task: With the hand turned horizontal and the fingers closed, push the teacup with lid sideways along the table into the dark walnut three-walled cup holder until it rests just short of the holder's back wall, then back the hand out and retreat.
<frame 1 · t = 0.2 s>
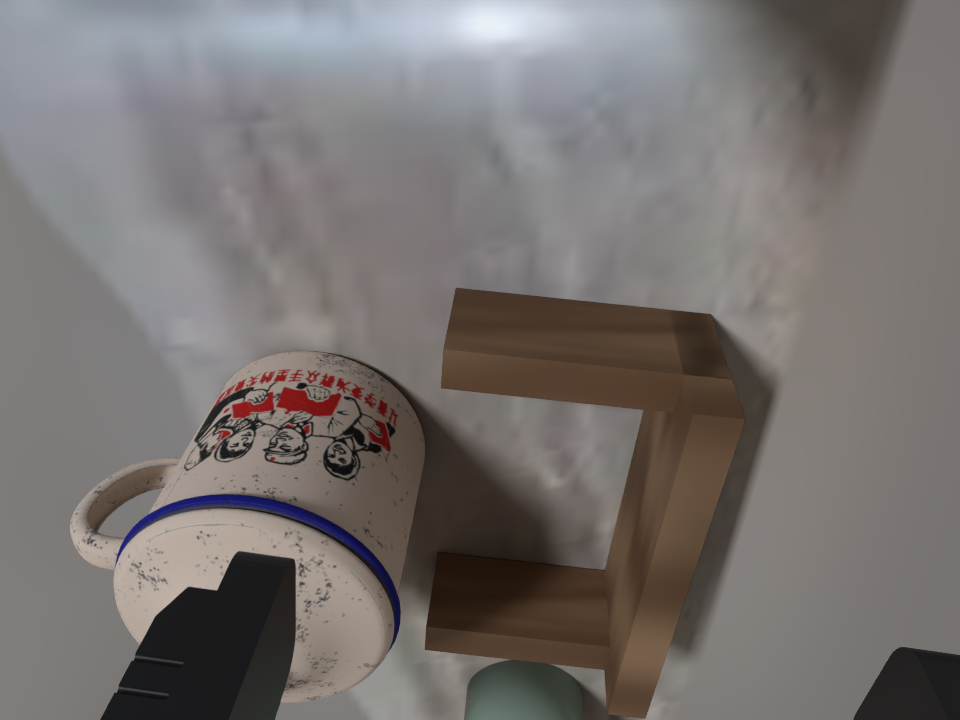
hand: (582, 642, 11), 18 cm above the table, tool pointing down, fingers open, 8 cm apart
teacup with lid: (287, 429, 33), on the table
walnut cup holder: (518, 458, 32), on the table
green ceramic sugar pot: (524, 695, 41), on the table
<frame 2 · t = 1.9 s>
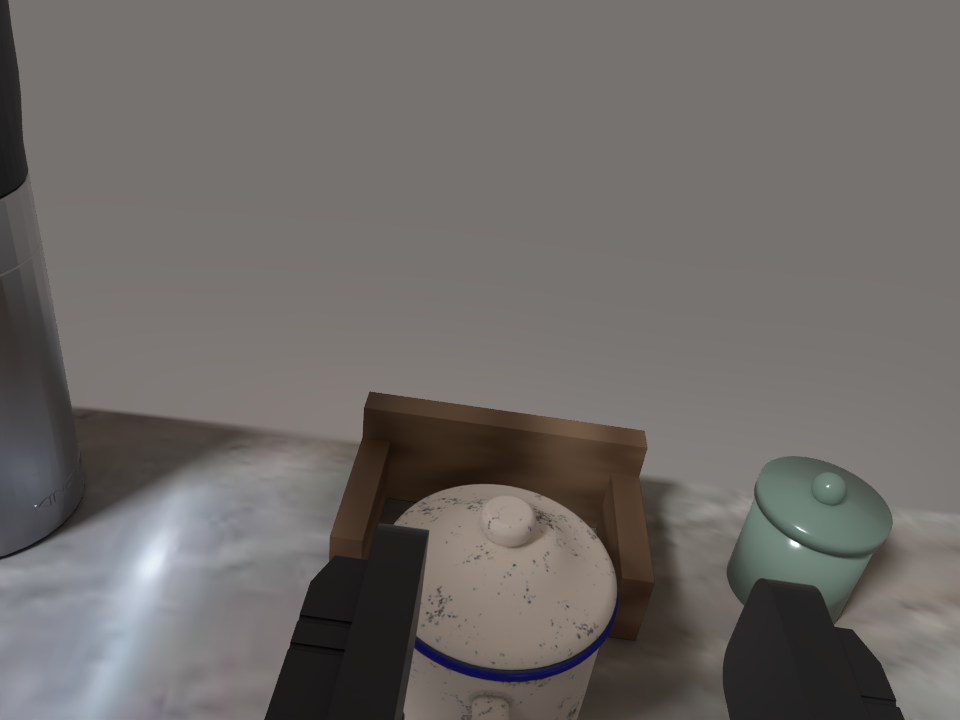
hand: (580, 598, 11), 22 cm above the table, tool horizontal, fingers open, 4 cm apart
walnut cup holder: (485, 572, 41), on the table
green ceramic sugar pot: (782, 587, 43), on the table
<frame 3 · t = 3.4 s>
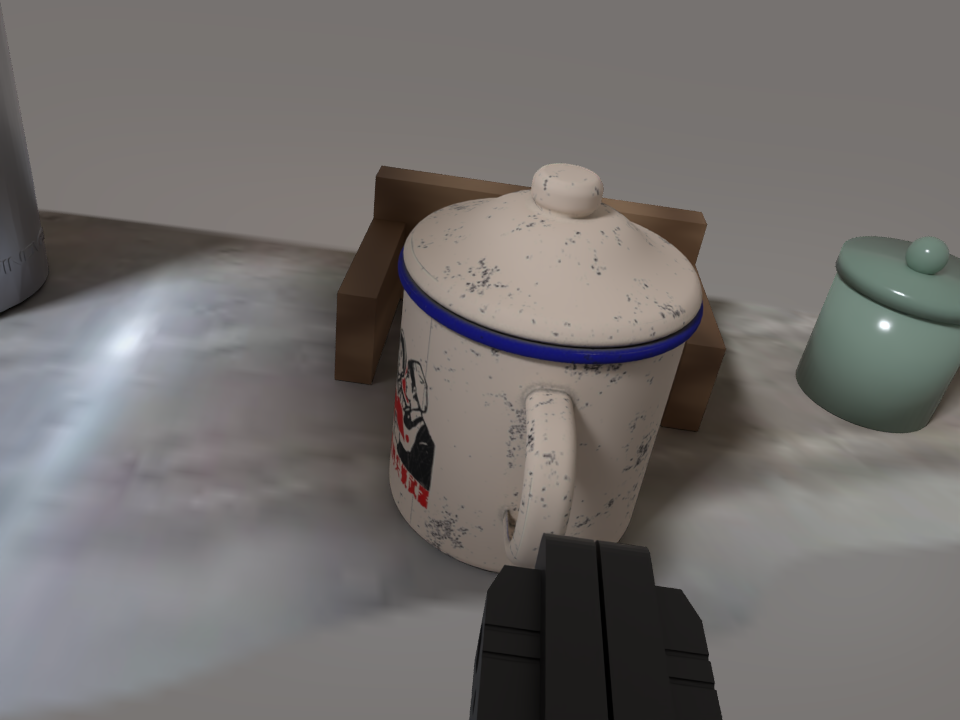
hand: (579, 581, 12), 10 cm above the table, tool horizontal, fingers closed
teacup with lid: (509, 521, 27), on the table
walnut cup holder: (518, 365, 35), on the table
green ceramic sugar pot: (861, 392, 37), on the table
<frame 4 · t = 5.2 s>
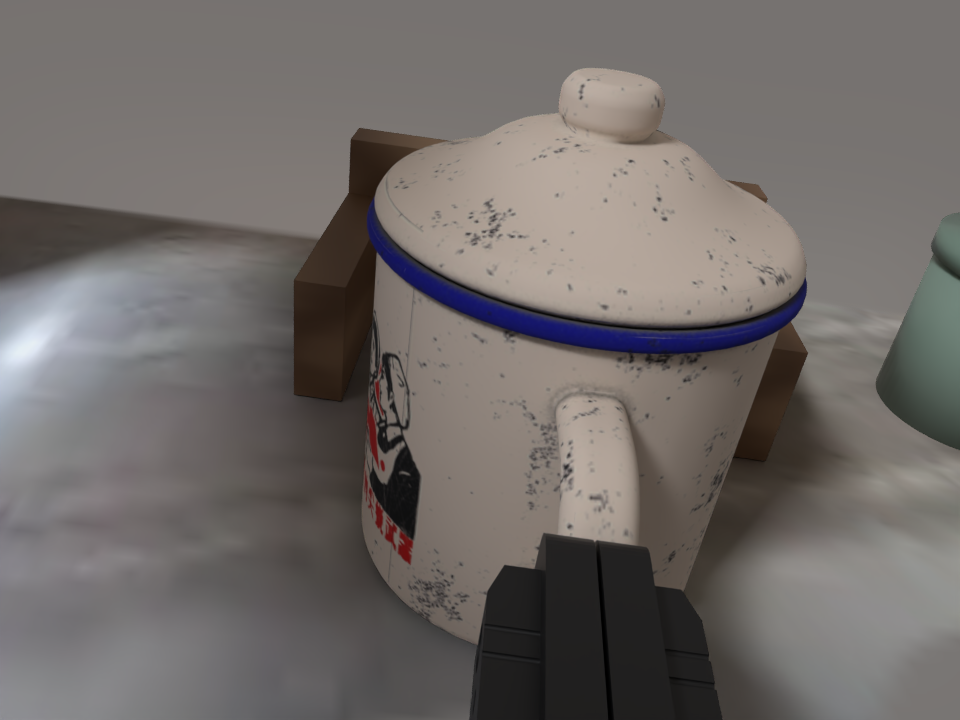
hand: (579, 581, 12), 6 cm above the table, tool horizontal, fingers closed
teacup with lid: (524, 575, 20), on the table, touching gripper
walnut cup holder: (531, 376, 28), on the table
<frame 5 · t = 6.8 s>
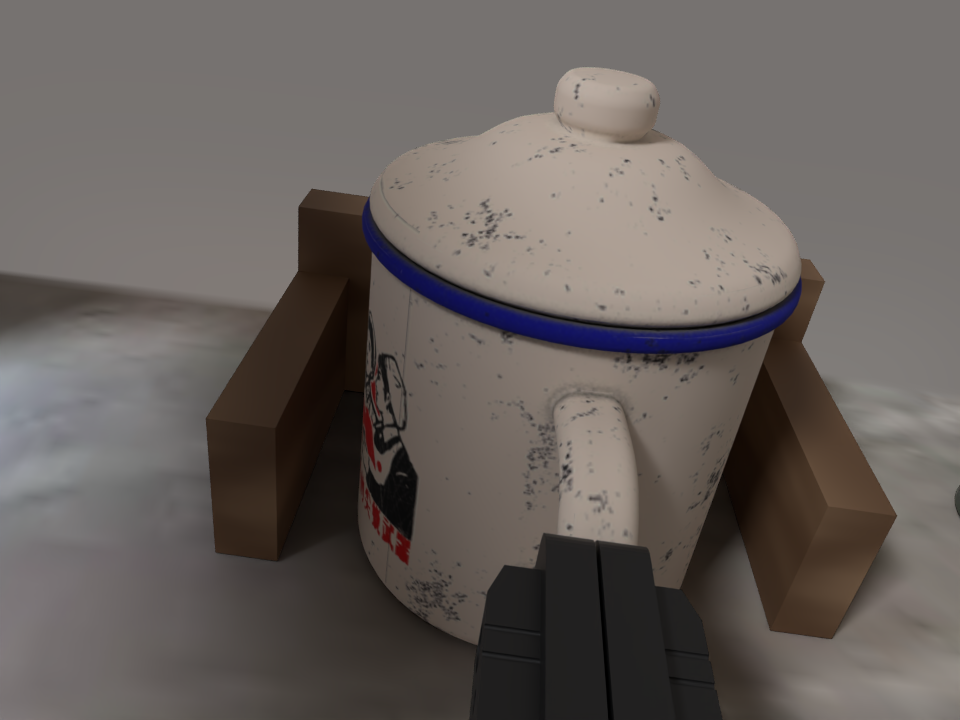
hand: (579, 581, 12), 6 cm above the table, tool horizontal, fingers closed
teacup with lid: (521, 574, 20), on the table, touching gripper
walnut cup holder: (526, 511, 22), on the table
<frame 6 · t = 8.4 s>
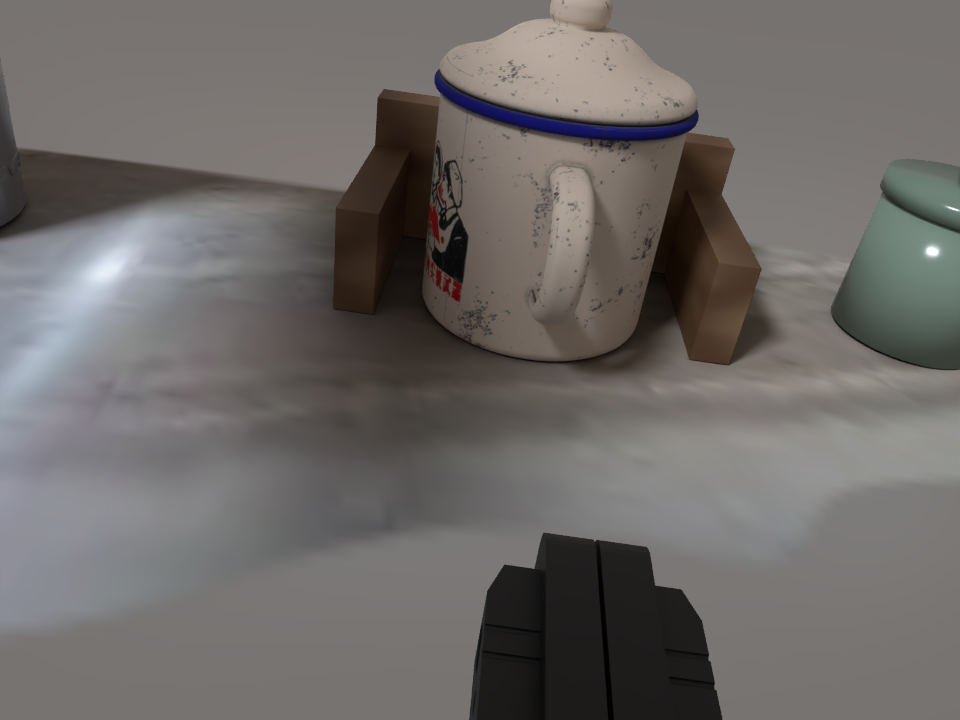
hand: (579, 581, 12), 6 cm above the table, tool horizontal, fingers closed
teacup with lid: (529, 330, 31), on the table
walnut cup holder: (532, 300, 32), on the table
green ceramic sugar pot: (902, 330, 34), on the table
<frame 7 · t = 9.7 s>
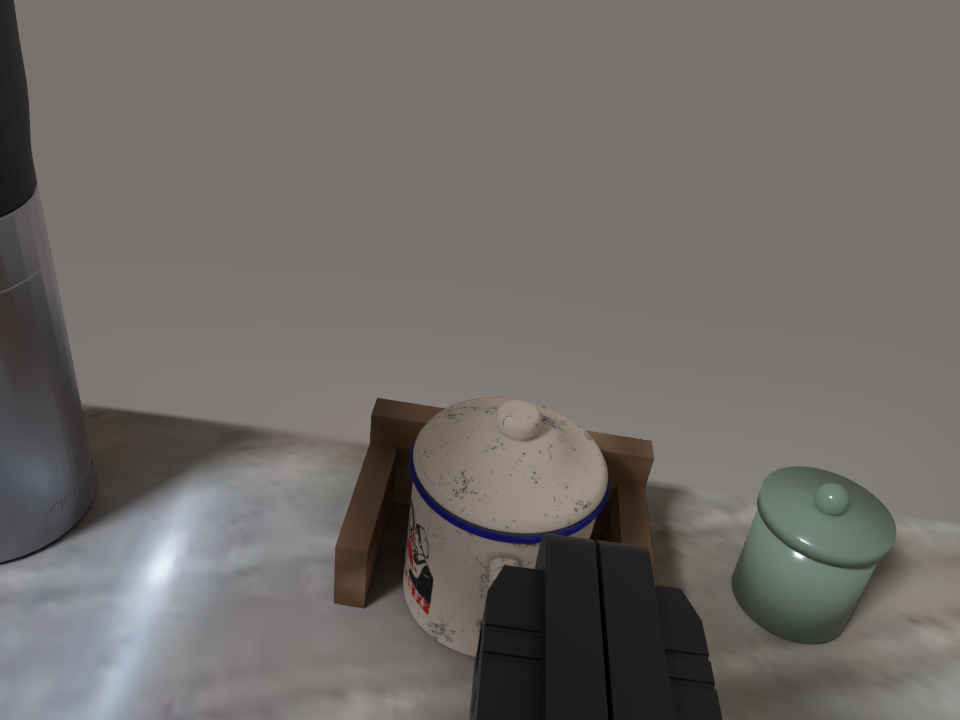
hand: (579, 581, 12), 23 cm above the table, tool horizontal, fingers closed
teacup with lid: (485, 615, 40), on the table
walnut cup holder: (490, 579, 41), on the table
green ceramic sugar pot: (788, 597, 43), on the table
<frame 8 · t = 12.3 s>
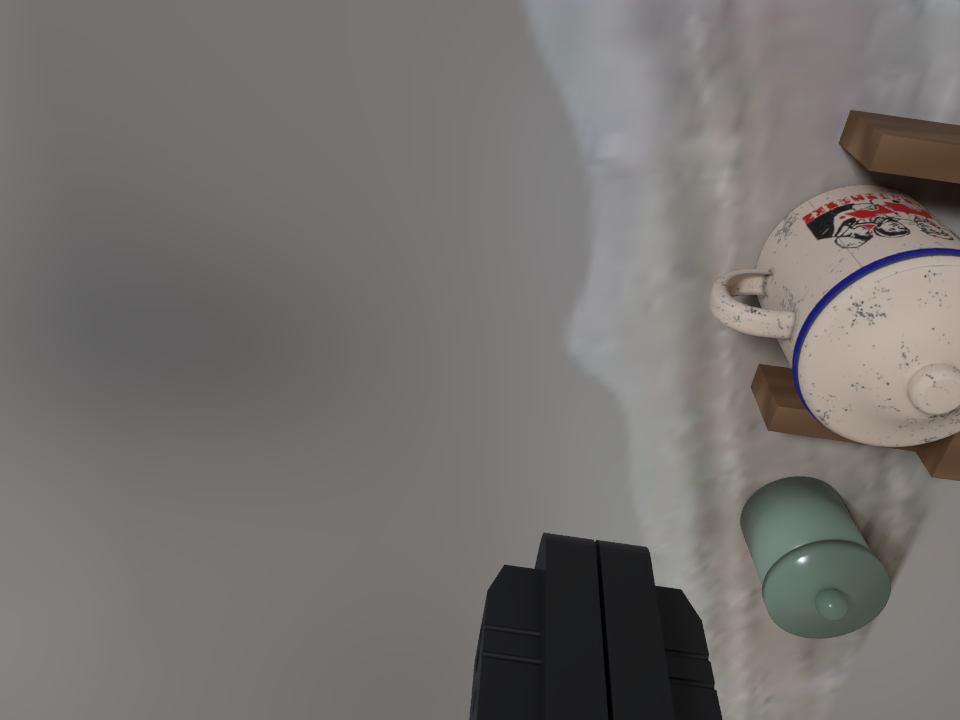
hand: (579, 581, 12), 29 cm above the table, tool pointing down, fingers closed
teacup with lid: (812, 262, 40), on the table
walnut cup holder: (855, 270, 40), on the table
green ceramic sugar pot: (791, 516, 48), on the table
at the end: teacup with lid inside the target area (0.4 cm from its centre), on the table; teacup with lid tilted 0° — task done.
